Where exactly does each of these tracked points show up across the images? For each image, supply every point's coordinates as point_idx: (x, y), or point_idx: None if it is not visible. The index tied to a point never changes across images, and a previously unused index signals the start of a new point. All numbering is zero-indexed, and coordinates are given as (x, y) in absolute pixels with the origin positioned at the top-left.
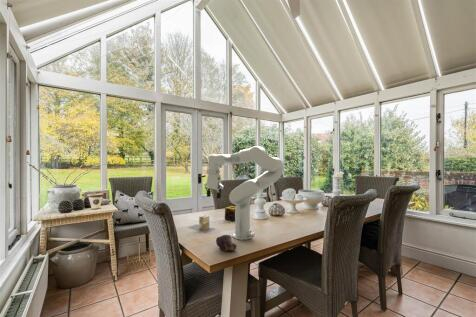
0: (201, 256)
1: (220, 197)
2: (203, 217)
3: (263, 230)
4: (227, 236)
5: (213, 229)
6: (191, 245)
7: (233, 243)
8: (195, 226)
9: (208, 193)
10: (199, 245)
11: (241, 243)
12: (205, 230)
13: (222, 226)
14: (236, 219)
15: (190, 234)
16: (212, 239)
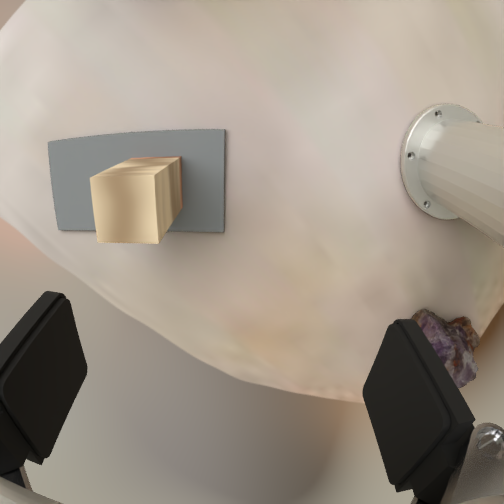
0: None
1: (412, 326)
2: (147, 242)
3: (483, 15)
4: (467, 382)
5: (218, 149)
6: (285, 377)
7: (473, 347)
8: (73, 179)
9: (56, 402)
10: (316, 362)
11: (469, 248)
12: (187, 200)
13: (217, 42)
14: (495, 241)
15: (164, 293)
16: (326, 285)
